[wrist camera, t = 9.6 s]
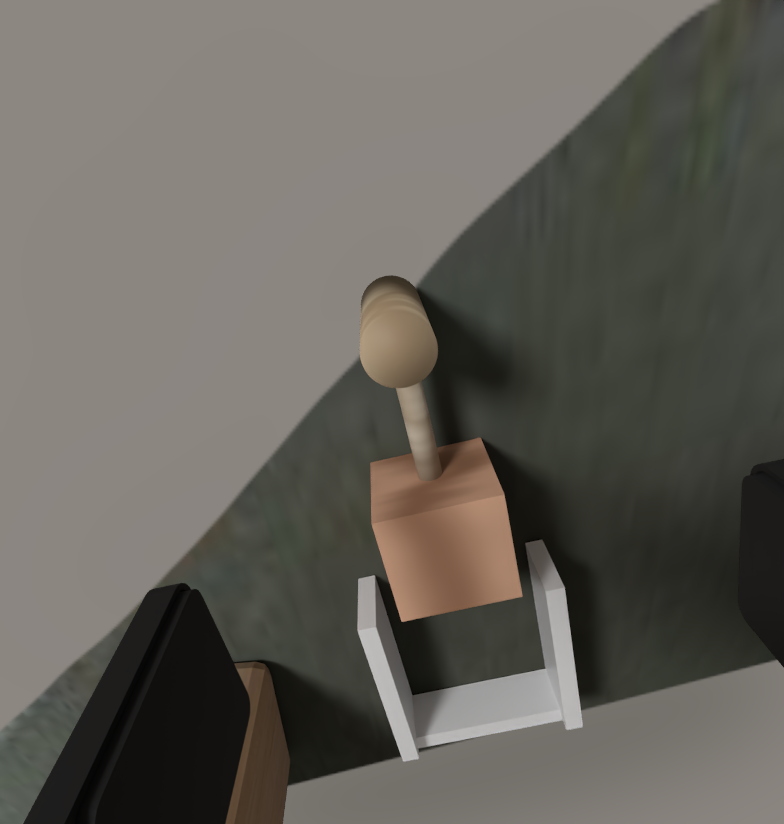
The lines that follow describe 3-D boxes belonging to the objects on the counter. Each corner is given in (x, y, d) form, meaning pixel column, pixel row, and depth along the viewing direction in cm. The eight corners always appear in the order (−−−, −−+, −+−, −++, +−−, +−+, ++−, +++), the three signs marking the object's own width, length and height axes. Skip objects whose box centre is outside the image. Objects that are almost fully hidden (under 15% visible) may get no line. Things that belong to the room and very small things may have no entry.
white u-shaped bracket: (542, 539, 32) (564, 587, 29) (562, 676, 37) (583, 732, 33) (358, 578, 33) (357, 630, 29) (401, 708, 37) (404, 767, 34)
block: (447, 260, 25) (474, 294, 19) (497, 527, 32) (530, 619, 25) (321, 291, 26) (306, 334, 19) (395, 550, 32) (403, 646, 26)
